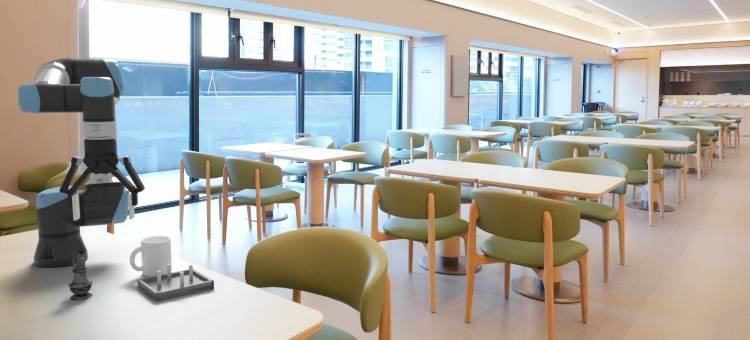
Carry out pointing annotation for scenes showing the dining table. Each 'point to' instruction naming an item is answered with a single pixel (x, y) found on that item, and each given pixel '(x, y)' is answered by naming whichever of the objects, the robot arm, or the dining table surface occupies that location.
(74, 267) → the dark grey tall piece
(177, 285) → the tray
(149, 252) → the mug
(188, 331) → the dining table surface
